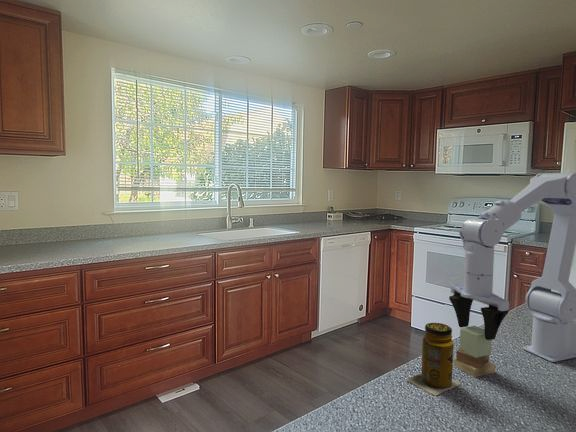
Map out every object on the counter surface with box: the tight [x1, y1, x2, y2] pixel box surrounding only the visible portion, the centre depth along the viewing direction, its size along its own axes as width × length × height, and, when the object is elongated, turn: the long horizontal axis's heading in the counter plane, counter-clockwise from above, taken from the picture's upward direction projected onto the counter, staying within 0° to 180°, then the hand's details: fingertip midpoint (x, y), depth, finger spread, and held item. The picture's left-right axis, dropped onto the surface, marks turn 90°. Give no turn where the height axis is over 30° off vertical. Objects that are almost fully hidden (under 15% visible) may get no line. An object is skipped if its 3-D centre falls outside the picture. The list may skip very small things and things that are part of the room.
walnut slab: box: [455, 348, 490, 368], centre depth 88 cm, size 5×5×2 cm
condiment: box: [405, 322, 462, 397], centre depth 81 cm, size 7×8×12 cm
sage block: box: [459, 325, 493, 358], centre depth 87 cm, size 4×4×5 cm
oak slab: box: [453, 357, 497, 378], centre depth 88 cm, size 6×6×2 cm
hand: (476, 332), depth 87 cm, fingers open, 7 cm apart
